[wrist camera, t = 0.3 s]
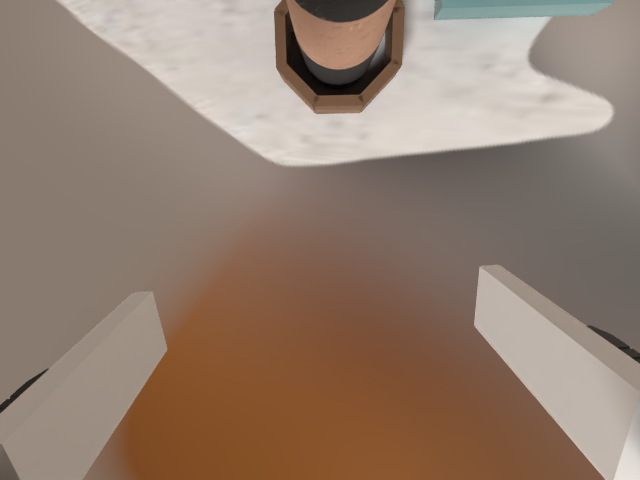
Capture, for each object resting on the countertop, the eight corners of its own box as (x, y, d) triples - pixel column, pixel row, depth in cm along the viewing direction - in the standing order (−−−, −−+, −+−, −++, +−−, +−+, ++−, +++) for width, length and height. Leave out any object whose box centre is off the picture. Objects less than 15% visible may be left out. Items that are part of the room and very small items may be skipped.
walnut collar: (280, -8, 34) (272, -34, 29) (396, -12, 33) (406, -40, 29) (284, 114, 36) (277, 107, 32) (392, 112, 36) (400, 104, 31)
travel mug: (288, 62, 35) (233, -68, 16) (331, -3, 34) (330, -236, 14) (343, 107, 36) (356, 38, 16) (388, 46, 34) (461, -111, 15)
